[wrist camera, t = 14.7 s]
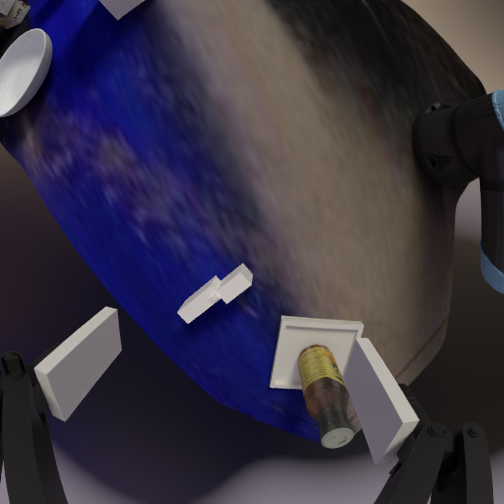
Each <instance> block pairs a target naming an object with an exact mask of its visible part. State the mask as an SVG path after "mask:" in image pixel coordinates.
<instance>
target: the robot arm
mask: <svg viewBox="0 0 504 504" xmlns="http://www.w3.org/2000/svg"><path fill="white" fill-rule="evenodd" d="M413 141H414V147H415V151H416V154H417V157H418V159H419V161H420V163H421V165H422V167H423V168H424V170H425V171H426V173H427V174H428V175H429V176H430V177H431V178H432V179H433V180H434V181H436V182H437V183H439V184H441V185H444V186H448V187H460V186H464V185H466V184H468V183H470V182H471V181H474V180H475V179H477V178H479V179H480V192H481V222H482V223H481V224H482V225H481V242H480V250H481V271H482V274H483V275H484V278H485V280H486V281H487V282H488V283H489V284H490V285H491V286H492V287H493V288H494V289H496V290H497V291H499V292H500V293H502V294H504V90H496V91H494V92H493V93H490V94H487V95H485V96H482V97H479V98H476V99H473V100H471V101H468V102H465V103H463V104H453V103H446V102H437V103H433V104H431V105H429V106H426V107H425V108H423V109H422V110H421V111H420V112H419V113H418V115H417V117H416V119H415V122H414V127H413ZM121 350H122V349H121V341H120V333H119V325H118V314H117V309H113V308H109V307H105V308H104V309H103V310H101V311H100V312H99V313H98V314H96V316H94V317H93V318H92V319H90V320H89V321H88V322H87V323H86V324H84V325H83V326H82V327H81V328H80V329H78V330H77V331H76V332H75V333H74V334H73V335H71V336H70V337H69V338H68V339H67V340H65V341H64V342H63V341H60V342H58V343H55V344H53V345H52V346H51V347H49V348H48V349H47V351H45V352H44V353H43V354H42V355H40V356H39V357H38V358H37V359H35V360H34V361H33V362H32V363H31V364H30V365H28V366H27V365H26V362H25V359H24V356H23V354H22V353H20V352H18V351H9V352H6V353H4V354H3V355H2V356H1V357H0V364H1V367H2V370H3V371H0V481H1V473H2V464H3V459H4V468H5V477H6V484H7V490H8V496H9V501H10V504H68V502H67V499H66V496H65V493H64V490H63V487H62V483H61V480H60V476H59V473H58V469H57V465H56V461H55V456H54V452H53V447H52V442H51V437H50V431H49V425H48V419H47V414H46V412H45V410H46V409H47V408H48V407H49V408H50V410H51V412H52V414H53V416H55V417H57V418H59V419H61V420H63V421H66V420H67V419H68V418H69V416H70V415H71V414H72V412H73V411H74V410H75V408H76V407H77V406H78V404H79V403H80V402H81V401H82V399H83V398H84V397H85V395H86V394H87V393H88V392H89V390H90V389H91V388H92V387H93V385H94V384H95V382H96V381H97V380H98V379H99V378H100V376H101V375H102V374H103V373H104V371H105V370H106V369H107V368H108V366H109V365H110V364H111V363H112V361H113V360H114V359H115V358H116V357H117V355H118V354H119V353H120V352H121ZM343 379H344V382H345V384H346V387H347V389H348V392H349V395H350V397H351V400H352V402H353V405H354V408H355V410H356V413H357V416H358V418H359V421H360V424H361V426H362V429H363V432H364V435H365V437H366V440H367V443H368V446H369V448H370V451H371V454H372V457H373V460H374V463H375V465H377V464H383V463H389V462H391V461H392V459H393V458H394V457H395V456H396V454H397V456H398V458H399V461H398V462H397V464H396V465H395V466H394V467H393V469H392V470H391V471H390V473H389V474H391V475H390V477H389V479H388V481H387V482H386V484H385V486H384V488H383V489H382V491H381V493H380V495H379V496H378V498H377V499H376V501H375V503H374V504H427V502H428V500H429V497H430V495H431V502H430V504H494V502H493V484H492V474H491V465H490V458H489V452H488V445H487V440H486V435H485V431H484V429H483V428H482V427H481V426H480V425H479V424H477V423H474V422H469V423H467V424H465V425H464V427H463V428H462V429H461V431H448V430H447V428H446V427H445V426H444V425H443V424H441V423H439V422H434V421H432V422H431V420H430V418H429V417H428V415H427V414H426V412H425V410H424V409H423V407H422V406H421V404H420V403H419V401H418V400H417V398H415V395H414V393H413V392H412V390H411V389H410V388H409V387H407V386H406V385H405V384H397V383H396V381H395V379H394V378H393V376H392V375H391V373H390V371H389V370H388V368H387V367H386V365H385V364H384V362H383V360H382V359H381V357H380V356H379V354H378V353H377V351H376V350H375V348H374V347H373V345H372V344H371V342H370V341H369V339H368V338H355V342H354V345H353V348H352V352H351V355H350V358H349V361H348V364H347V367H346V370H345V373H344V376H343ZM431 492H432V493H431Z"/></svg>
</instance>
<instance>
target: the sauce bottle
mask: <svg viewBox="0 0 504 504" xmlns="http://www.w3.org/2000/svg"><path fill="white" fill-rule="evenodd" d="M298 367H299V374H300V379H301V384H302V390H303V395H304V400H305V402H306V408H307V411H308V413H309V414H310V415H311V416H312V417H313V418H314V419H316V420H317V422H318V424H319V427H320V440H321V443H322V445H323V446H325V447H328V448H338V447H341V446H343V445H345V444H347V443H348V442H349V441H350V440H351V439H352V438H353V436H354V431H353V428H352V425H351V424H350V423H349V421H348V418H347V412H346V410H347V403H348V398H349V393H348V390H347V388H346V385H345V383H344V380H343V377H342V375H341V373H340V370H339V368H338V365H337V363H336V361H335V358H334V356H333V354H332V352H331V351H330V350H329V349H328V348H327V347H326V346H323V345H317V344H315V345H311V346H308V347H307V348H305V349H304V350H302V351H301V353H300V355H299V359H298Z"/></svg>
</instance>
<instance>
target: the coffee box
mask: <svg viewBox="0 0 504 504" xmlns="http://www.w3.org/2000/svg"><path fill="white" fill-rule="evenodd" d="M29 9H30V6H28V5H27V4H25V3H23V2H22V1H20V0H0V26H2V27H4V28H6V29H8V28H10V27H13V26H15V25H17V24H20V23H21V22H22V20H23V18H24V17H25V15H26V14H27V12H28V10H29Z"/></svg>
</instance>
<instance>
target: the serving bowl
mask: <svg viewBox="0 0 504 504" xmlns="http://www.w3.org/2000/svg"><path fill="white" fill-rule="evenodd" d="M51 59H52V43H51V40H50V38H49V36H48V35H47V34H46V33H45V32H44V31H43V30H41V29H32V30H30V31H28V32H26V33H24V34H23V35H21V36H20V37H19V38H18V39H17V40H16V41H15V42H14V43H13V44H12V45H11V46H10V47H9V48H8V50H7V51H6V52H5V54H4V55H3V57H2V58H1V60H0V117H6V116H9V115H12V114H14V113H16V112H17V111H19V110H20V109H22V108H23V107H24V106H25V105H26V104H27V103H28V102H29V101H30V100H31V99H32V98H33V97H34V95H35V94H36V92H37V91H38V90H39V88H40V86H41V85H42V83H43V81H44V79H45V77H46V75H47V73H48V70H49V67H50V64H51Z"/></svg>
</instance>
